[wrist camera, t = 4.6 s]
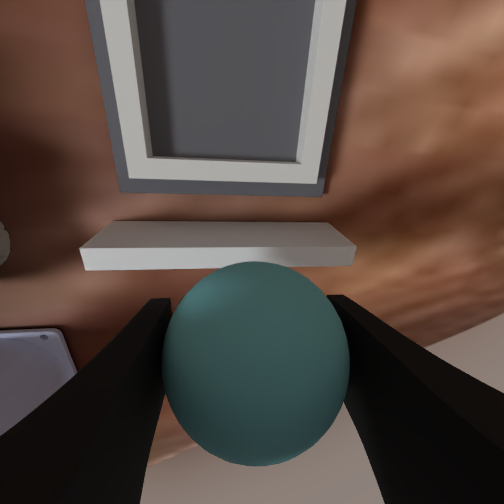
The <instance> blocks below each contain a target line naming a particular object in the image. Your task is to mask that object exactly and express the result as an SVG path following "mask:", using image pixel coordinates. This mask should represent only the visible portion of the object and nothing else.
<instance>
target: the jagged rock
mask: <svg viewBox="0 0 504 504" xmlns="http://www.w3.org/2000/svg"><path fill="white" fill-rule="evenodd" d="M10 247H11V246H10V239H9V234H8V232H7V231H6V230H4V225H3V224H2V222H1V221H0V265H2V264H3V263H4V261H6V260H7V257H8V255H9V253H10V250H11V249H10Z"/></svg>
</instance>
